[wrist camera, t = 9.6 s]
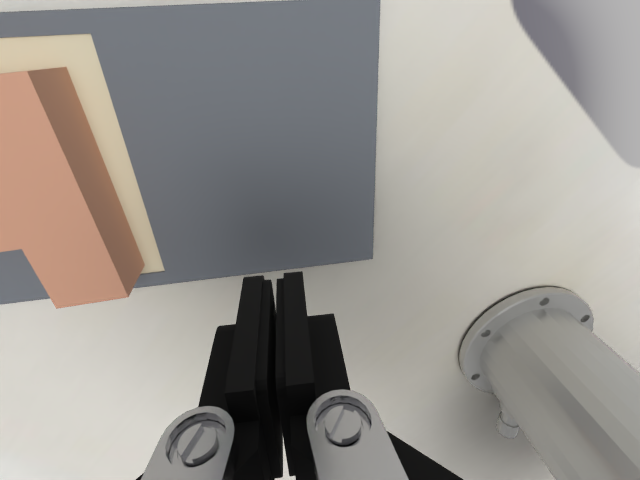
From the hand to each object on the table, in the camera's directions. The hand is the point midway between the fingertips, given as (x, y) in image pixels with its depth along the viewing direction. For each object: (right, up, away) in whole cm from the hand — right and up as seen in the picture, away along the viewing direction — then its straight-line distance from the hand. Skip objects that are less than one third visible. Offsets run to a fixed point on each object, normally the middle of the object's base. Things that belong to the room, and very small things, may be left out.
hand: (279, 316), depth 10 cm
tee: (-16, +5, +10) cm, 20 cm away
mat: (-10, +6, +11) cm, 16 cm away
